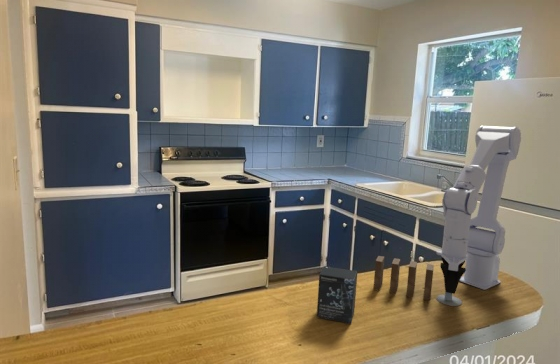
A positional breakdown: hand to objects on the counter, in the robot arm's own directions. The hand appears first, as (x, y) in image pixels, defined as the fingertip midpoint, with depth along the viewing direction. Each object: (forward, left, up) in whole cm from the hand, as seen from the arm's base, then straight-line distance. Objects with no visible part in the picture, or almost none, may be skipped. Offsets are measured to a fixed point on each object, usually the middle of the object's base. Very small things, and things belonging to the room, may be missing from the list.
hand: (450, 288), depth 101 cm
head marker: (0, 0, -3) cm, 3 cm away
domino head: (0, 0, -2) cm, 2 cm away
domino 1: (+9, -15, -3) cm, 18 cm away
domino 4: (+3, -5, -3) cm, 6 cm away
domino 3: (+5, -8, -3) cm, 10 cm away
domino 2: (+7, -12, -3) cm, 14 cm away
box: (+30, -10, -3) cm, 32 cm away
